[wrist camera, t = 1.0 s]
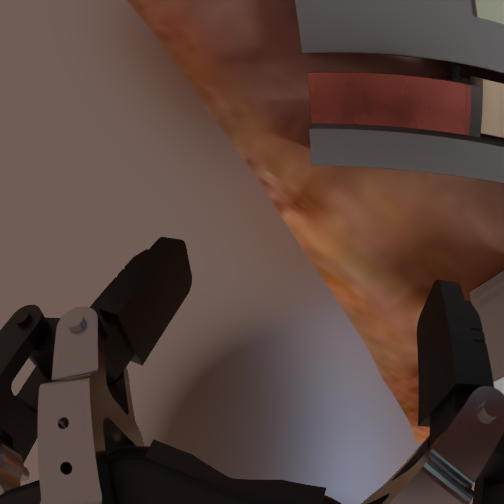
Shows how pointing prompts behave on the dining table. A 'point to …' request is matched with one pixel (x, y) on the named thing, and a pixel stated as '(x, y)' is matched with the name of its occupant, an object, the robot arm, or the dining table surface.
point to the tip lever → (397, 101)
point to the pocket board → (410, 45)
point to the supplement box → (492, 323)
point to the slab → (491, 106)
